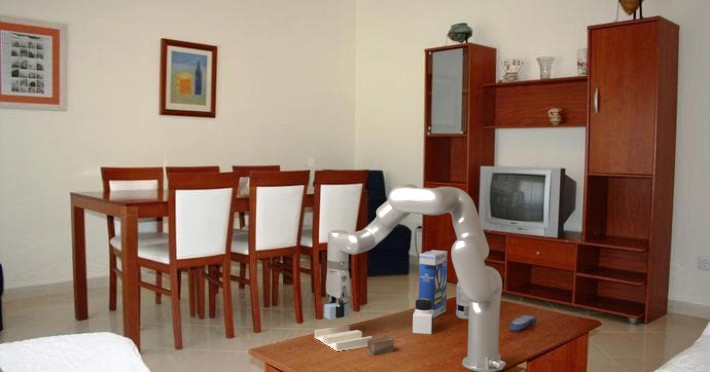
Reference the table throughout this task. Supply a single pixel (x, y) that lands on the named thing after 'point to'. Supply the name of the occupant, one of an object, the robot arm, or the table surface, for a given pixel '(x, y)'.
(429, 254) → the string lights box
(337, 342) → the slot board
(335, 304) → the slate bar
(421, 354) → the table surface
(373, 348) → the walnut bar
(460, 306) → the supplement can
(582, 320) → the table surface
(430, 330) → the medicine bottle
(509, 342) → the table surface
